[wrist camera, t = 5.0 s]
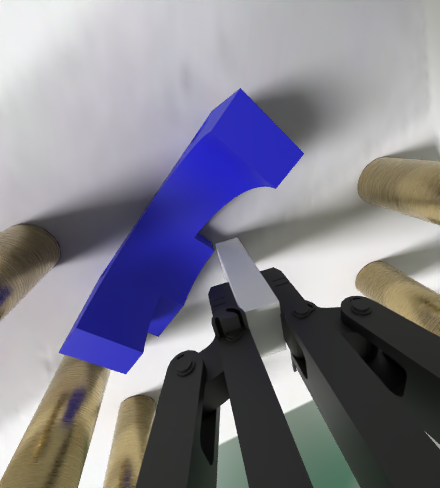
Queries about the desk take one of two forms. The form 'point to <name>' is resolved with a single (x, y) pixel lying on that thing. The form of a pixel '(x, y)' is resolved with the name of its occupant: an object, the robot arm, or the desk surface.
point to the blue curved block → (178, 233)
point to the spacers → (143, 408)
